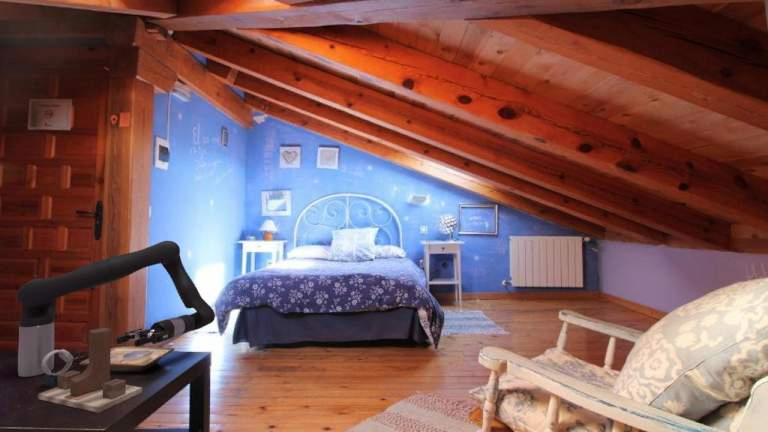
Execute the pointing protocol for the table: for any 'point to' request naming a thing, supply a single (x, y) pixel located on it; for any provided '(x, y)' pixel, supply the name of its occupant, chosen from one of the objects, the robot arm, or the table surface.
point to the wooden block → (94, 364)
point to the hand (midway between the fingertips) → (126, 342)
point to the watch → (52, 378)
